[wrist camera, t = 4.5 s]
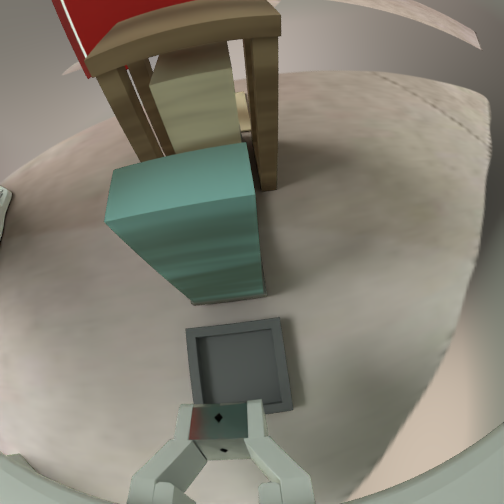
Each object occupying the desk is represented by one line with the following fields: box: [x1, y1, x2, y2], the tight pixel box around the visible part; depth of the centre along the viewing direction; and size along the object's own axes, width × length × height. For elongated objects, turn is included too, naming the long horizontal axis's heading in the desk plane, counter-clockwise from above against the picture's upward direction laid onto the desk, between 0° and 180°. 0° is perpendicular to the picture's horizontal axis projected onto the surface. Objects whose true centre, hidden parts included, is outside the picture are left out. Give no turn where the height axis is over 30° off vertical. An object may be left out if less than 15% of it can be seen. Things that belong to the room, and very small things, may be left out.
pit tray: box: [186, 317, 293, 414], centre depth 16 cm, size 6×6×1 cm
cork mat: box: [235, 92, 251, 132], centre depth 26 cm, size 7×7×1 cm
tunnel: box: [84, 0, 281, 192], centre depth 16 cm, size 6×9×14 cm
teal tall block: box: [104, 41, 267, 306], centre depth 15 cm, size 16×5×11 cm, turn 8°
